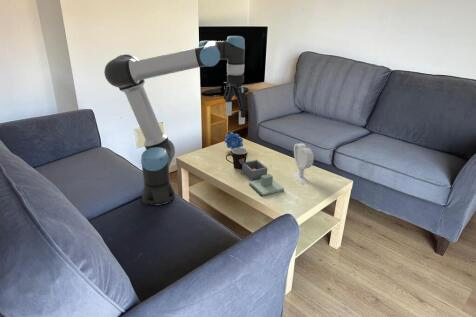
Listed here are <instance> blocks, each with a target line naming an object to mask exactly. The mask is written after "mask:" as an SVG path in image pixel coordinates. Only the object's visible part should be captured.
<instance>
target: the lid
mask: <svg viewBox="0 0 476 317" xmlns="http://www.w3.org/2000/svg"><path fill="white" fill-rule="evenodd" d="M249 184H251V185H252V186H253V187H254V188H255V189H256V190H257V191H258V192H260V193H261V194H262V195H264V196H268V195H271V193H272V194H275V193H274V192H276V193H278V191H280V192H282V191H281V190H283V191H285V188H284V187H283V186H282V185H281V184H279V183H278V182H277V181H276V180H274V176H273V175H272V174H270V173H267V175H263V176H261V179H259V180H255V181H251V180H250V181H249ZM267 194H268V195H267Z"/></svg>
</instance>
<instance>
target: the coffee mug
mask: <svg viewBox="0 0 476 317" xmlns="http://www.w3.org/2000/svg"><path fill="white" fill-rule="evenodd" d="M228 156H231V157H232V161H230V160H229V159H228V158H227V157H228ZM247 157H248V149H247V148H245V147H240V148H234V149H233V150H232V149H231V153H228V154H226V156H225V160H226V161H227V162H229V163H231V164H232V165H233V169H234V170H238V171H239V170H240V171H242V163H244V162H247Z"/></svg>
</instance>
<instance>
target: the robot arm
mask: <svg viewBox="0 0 476 317" xmlns="http://www.w3.org/2000/svg"><path fill="white" fill-rule="evenodd" d="M245 40H246V39H245V38H244V37H243V36H240V35H229V36H227V38H226V40H222V41H221V40H218V41H217V40H201V41H199V42H198V47H194V48H189V49H184V50H180V51H175V52H171V53H167V54H162V55H158V56H153V57H149V58H145V59H144V58H143V59H138V58H137V57H136V56H134V55H132V54H120V55H118V56H117V57H115V58H113V59H111V60H110V61H108V62H107V63H106V65H105V68H104V77H105V79H106V81H107V82H108V83H109V84H110V85H111V86H113V87H115V88H118V89H119V91H120V92H123V93H124V94H125V97H126V99H127V101H128V103H129V105H130V107H131V110H132V112H133V114H134V117H135V119H136V121H137V124H138V125H139V126H138V127H139V128H140V130H141V133H142V135H143V137H144V139H145V141H144V143H143V145H144V147H145V150H144V151H143V152H142V153H141V156H140V158H141V159H140V164H141V168H142V169H141V170H142V176H143V189H142V193H141V200H142V203H144V204H145V203H146V204H145V205H147V204H150V205H156V204H163V203H166V202H169V201H171V200H172V201H174V199H175V197H176V196H175V195H176V194H175V190H174V188H173V185H172V183H171V182H170V181H171V180H170V166H171V164H172V161H173V159H174V157H175V153H176V151H175V150H176V149H175V145H174V143H173V142H172V141H171V139H169V138H168V135H167V134H164V132H163V131H162V128H161V126H160V123H159V121H158V119H157V117H156V114H155V111H154V109H153V107H152V104H151V102H150V99H149V97H148V94H147V91H146V89H145V87H144V85H145V83H146V81H145V80H147V79H151V78H156V77H160V76H161V77H162V76H166V75H170V74H175V73H179V72H183V71H189V70H193V69H197V68H203V67H214V66H216V65H217V64H218V63H219V61H220V60H225V61H227V62H226V73H227V74H226V83H225V84H226V85H225V86H226V87H225V89H224V90H225V91H224V94H223V100H224V101H225V116H229V117H230V116H232V115H233V114H232V110H233V108H232V107H233V106H232V105H233V104H232V103H233V102H232V101H233V100H232V99H233V98H234V97H235V98H236V101H237V104H238V107H239V109H238V124H239V125H244V124H246V111H248V110H249V105H248V101H247V96H246V87H244V86H242V84H244V82H245V74H244V73H245V66H246V65H245V56H246V55H245V52H246V44H245ZM172 201H171V202H172ZM150 205H149V206H150Z"/></svg>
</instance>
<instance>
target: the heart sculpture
mask: <svg viewBox="0 0 476 317" xmlns="http://www.w3.org/2000/svg"><path fill="white" fill-rule="evenodd" d="M293 156H294V160H295V163H296V166H297V169H298V171H295V172H293V173H292V172H291V174H292V175H293V176H294V177H295V179H296V180H297V181H298V182H299V183H300V184H301V185H308V184H310V183H311V181H309V179H307V177H306V176H305V175H304V171H305V170H306V169H310V168H311V167H312V166H313V164H314V157H315V156H314V152H313V151H312V149H311V147H307V145H306V144H305V143H294V146H293Z"/></svg>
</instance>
